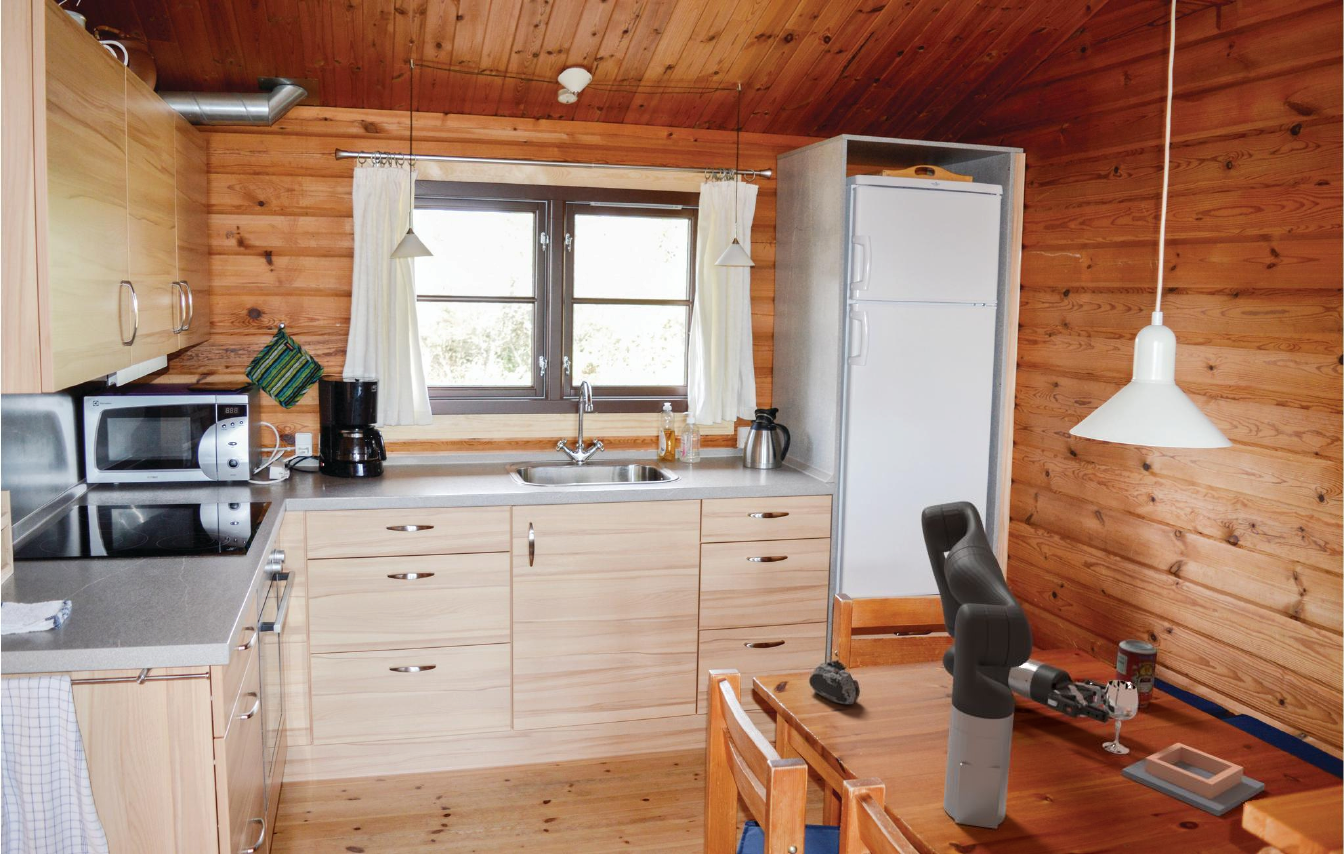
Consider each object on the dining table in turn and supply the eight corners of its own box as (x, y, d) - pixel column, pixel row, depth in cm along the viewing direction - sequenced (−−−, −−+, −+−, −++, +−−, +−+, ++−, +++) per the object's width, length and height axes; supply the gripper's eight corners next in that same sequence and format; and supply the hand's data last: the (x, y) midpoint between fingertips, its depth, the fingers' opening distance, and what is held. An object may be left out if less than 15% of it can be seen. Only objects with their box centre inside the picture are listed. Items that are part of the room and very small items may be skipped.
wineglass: (1099, 738, 181) (1105, 676, 180) (1134, 745, 179) (1140, 682, 177) (1097, 750, 176) (1103, 686, 174) (1132, 758, 173) (1139, 693, 172)
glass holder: (1264, 789, 164) (1266, 769, 163) (1218, 816, 154) (1220, 795, 154) (1168, 751, 177) (1171, 733, 176) (1121, 774, 167) (1123, 755, 167)
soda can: (1131, 710, 194) (1137, 651, 193) (1105, 696, 201) (1111, 638, 199) (1159, 707, 197) (1166, 648, 195) (1133, 693, 203) (1139, 636, 202)
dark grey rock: (848, 713, 189) (881, 699, 195) (848, 679, 188) (882, 665, 194) (802, 693, 198) (835, 680, 204) (802, 660, 197) (836, 648, 203)
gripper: (1019, 670, 184) (1101, 700, 171) (1061, 656, 193) (1142, 683, 180) (1016, 708, 185) (1097, 741, 172) (1058, 692, 194) (1138, 722, 181)
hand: (1120, 711), depth 176 cm, fingers open, 8 cm apart
